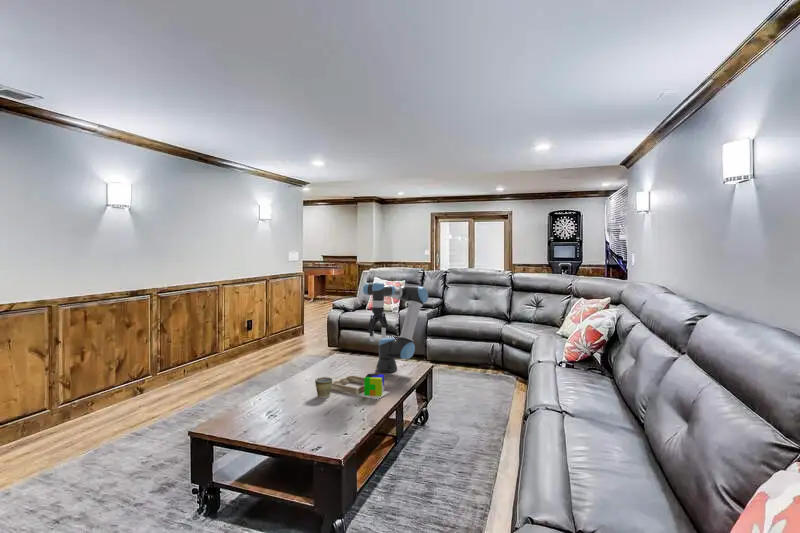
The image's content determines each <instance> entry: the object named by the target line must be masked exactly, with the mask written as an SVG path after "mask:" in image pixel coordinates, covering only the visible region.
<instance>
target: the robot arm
mask: <svg viewBox="0 0 800 533" xmlns="http://www.w3.org/2000/svg"><path fill="white" fill-rule="evenodd" d="M362 293H363V294H364V295H366V296H372V303H371V304H372V305H371V306H372V308H371V310H372V313H373V314H371V315H370V316H369V317H370V319H369V322H368V326H367V331H368V332H369V341H370V342H374V341H375V331H374V330H375V327H376V325H377V323H378V322H379V323H380V325H381V338H380V339H379V341H378V360H377V364H376V368H375V369H376V370H375V371H377V372H378V373H384V374H385V373H386V374H387V373H388V374H389V373H394V372H397V371H398V365H397V361H396V358H398V359H403V360H409V359H411V358H413V356H414V353H415V350H416V345H415V344H414V340H413V336H414V332H415V329H416V325H417V321H418V316H419V313H420V310H421V308H422V307H423V306H424V304H426V303H427V302H428V300H429V292H428V290H427V288H425V287H424V286H412V285H411V286H410V285H402V286H399V285H398V286H397V285H396V286H394V285H393V284H385V283H383V282H373V283H366V284H364V285H363V287H362ZM386 297H387V298H393V299H395V300H399V301H404V302H407V304H408V307H407V310H406V314H405V318H404V321H403V325H402V329H401V333H400V335H399V336H398V337H397V340H396V337H386V332H387V330H386V329H387V328H388V325H389V324H388V320H387V317H386V313H385V307H384V306H385V298H386Z"/></svg>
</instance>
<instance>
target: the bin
mask: <svg viewBox="0 0 800 533" xmlns="http://www.w3.org/2000/svg"><path fill="white" fill-rule="evenodd" d="M364 378H365V377H363V376H359V375H357V376H356V375H353V374H350V375H348V376H345V377H342V378H340V379H337V380H335V381H332V385H331V391H335V392H339V393H340V392H341V393H344V394H345V393H346V394H347V395H348V394H349V395H354V396H359V394H361V393H363V392H364ZM355 382H356V384H362V385H361V386H359V387H353V386H349V385H346V384H349V383H355Z"/></svg>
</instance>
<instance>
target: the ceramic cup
mask: <svg viewBox="0 0 800 533" xmlns="http://www.w3.org/2000/svg"><path fill="white" fill-rule="evenodd" d="M314 381H315V382H314V383H315V388H316V394H317V397H318V398H319V399H327V398H329V397H330V395H331V391H332V390H331V385H332V382H333V378H332V377H328V376H326V377H325V376H322V377H318V378H316V379H315V380H314Z"/></svg>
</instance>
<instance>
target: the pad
mask: <svg viewBox="0 0 800 533" xmlns="http://www.w3.org/2000/svg"><path fill="white" fill-rule="evenodd" d="M387 394H388V395H390V391H386V390H384V392H383V394H382V395H381V396H368V395H364V392H363V393H361V394H359V395H358V396H359V397H363V398H367V399H368V398H369V399H371V398H372V399H371V400H376V399H377V400H380V399H382V398H384V397H386V396H387ZM385 395H386V396H385ZM383 396H384V397H383ZM381 397H382V398H381ZM379 398H380V399H379Z"/></svg>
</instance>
